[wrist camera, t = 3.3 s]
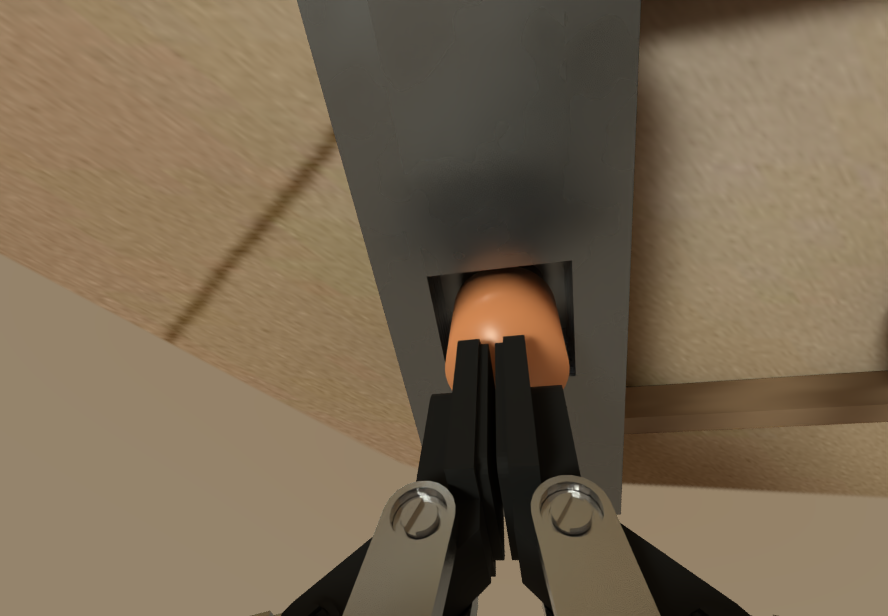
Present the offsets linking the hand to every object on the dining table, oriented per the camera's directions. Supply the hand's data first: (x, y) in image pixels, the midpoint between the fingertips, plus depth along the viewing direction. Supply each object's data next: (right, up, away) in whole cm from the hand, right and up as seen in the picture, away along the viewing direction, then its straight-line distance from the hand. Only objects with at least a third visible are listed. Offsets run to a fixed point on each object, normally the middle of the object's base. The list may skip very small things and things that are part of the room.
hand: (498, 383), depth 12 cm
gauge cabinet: (+1, +4, +7) cm, 8 cm away
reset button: (+1, +2, +3) cm, 3 cm away
